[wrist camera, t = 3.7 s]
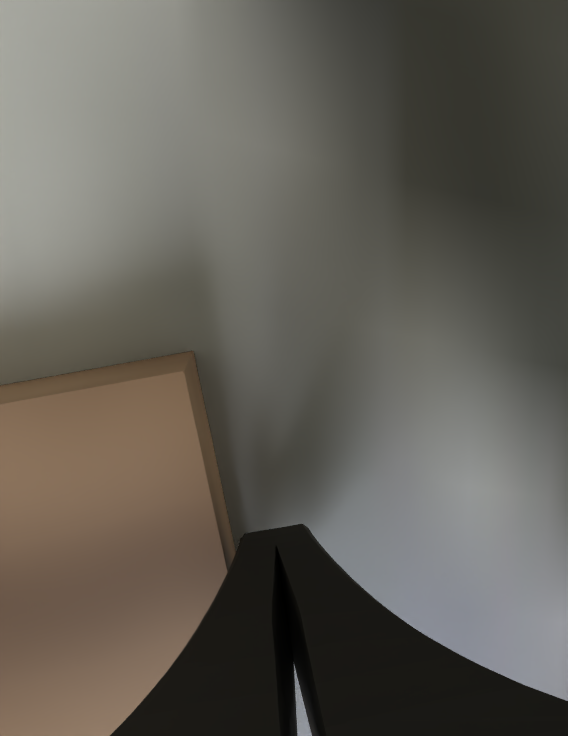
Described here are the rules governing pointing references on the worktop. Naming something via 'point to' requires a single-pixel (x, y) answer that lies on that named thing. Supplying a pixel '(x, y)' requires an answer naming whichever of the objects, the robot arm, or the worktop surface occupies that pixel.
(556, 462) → the worktop surface
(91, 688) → the brown wooden board
